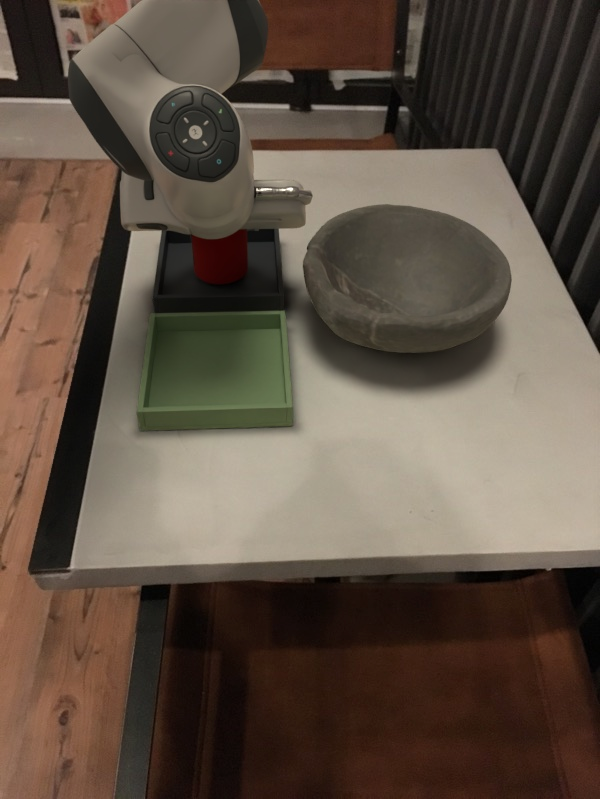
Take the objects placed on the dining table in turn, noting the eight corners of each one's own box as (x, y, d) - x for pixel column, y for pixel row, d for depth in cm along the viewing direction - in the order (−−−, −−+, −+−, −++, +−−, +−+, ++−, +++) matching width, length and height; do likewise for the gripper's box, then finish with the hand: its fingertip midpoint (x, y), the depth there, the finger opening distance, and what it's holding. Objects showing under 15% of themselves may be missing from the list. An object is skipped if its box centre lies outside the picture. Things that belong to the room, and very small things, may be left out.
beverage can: (224, 252, 89) (219, 165, 81) (259, 274, 86) (257, 186, 78) (183, 272, 86) (173, 184, 77) (218, 296, 83) (211, 207, 74)
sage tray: (140, 431, 68) (136, 411, 66) (153, 332, 79) (150, 313, 77) (292, 426, 69) (292, 407, 67) (285, 329, 80) (285, 310, 78)
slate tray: (155, 316, 81) (152, 297, 79) (164, 244, 91) (162, 226, 89) (283, 314, 82) (284, 295, 80) (278, 243, 92) (278, 224, 90)
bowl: (494, 408, 72) (518, 335, 64) (284, 375, 74) (284, 301, 67) (495, 281, 87) (514, 211, 80) (321, 257, 90) (325, 187, 83)
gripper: (313, 158, 69) (304, 197, 82) (106, 160, 67) (132, 199, 81) (315, 221, 69) (305, 249, 82) (108, 224, 67) (134, 252, 81)
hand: (218, 224), depth 82 cm, fingers closed on beverage can, 7 cm apart
